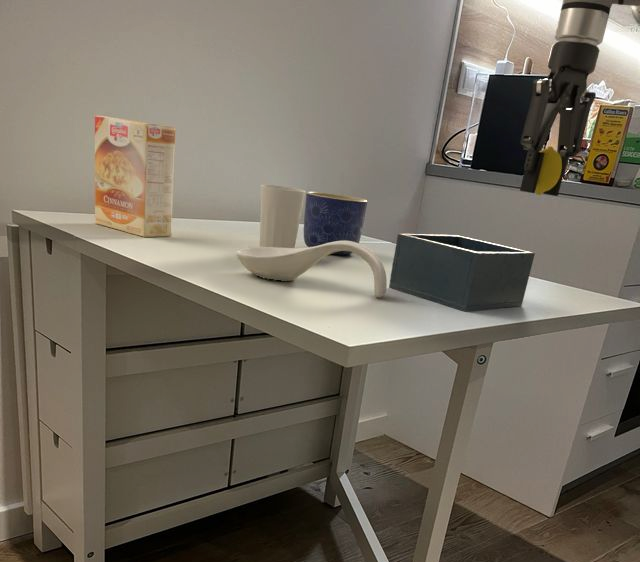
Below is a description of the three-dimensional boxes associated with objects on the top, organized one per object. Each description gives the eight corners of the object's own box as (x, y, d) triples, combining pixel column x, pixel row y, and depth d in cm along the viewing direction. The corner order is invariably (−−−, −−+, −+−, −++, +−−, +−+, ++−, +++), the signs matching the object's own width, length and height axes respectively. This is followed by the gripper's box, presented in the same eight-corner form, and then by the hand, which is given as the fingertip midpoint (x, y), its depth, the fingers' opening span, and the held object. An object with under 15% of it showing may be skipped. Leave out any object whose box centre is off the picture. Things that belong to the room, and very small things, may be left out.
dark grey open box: (521, 306, 109) (535, 253, 105) (465, 311, 99) (478, 253, 95) (446, 284, 119) (457, 235, 116) (388, 287, 109) (397, 233, 105)
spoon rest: (223, 275, 100) (226, 226, 97) (250, 265, 110) (254, 221, 107) (376, 304, 95) (384, 253, 92) (389, 291, 106) (397, 245, 103)
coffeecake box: (93, 223, 130) (93, 114, 123) (123, 223, 136) (124, 119, 128) (143, 237, 122) (145, 122, 115) (172, 236, 128) (177, 126, 120)
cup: (275, 261, 118) (282, 190, 113) (245, 252, 122) (251, 183, 118) (306, 260, 123) (314, 192, 119) (276, 251, 128) (283, 186, 123)
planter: (287, 246, 137) (293, 190, 132) (328, 245, 145) (335, 193, 141) (331, 258, 129) (339, 199, 125) (371, 256, 138) (380, 202, 134)
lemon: (520, 192, 116) (532, 143, 112) (524, 192, 120) (536, 145, 117) (553, 197, 114) (566, 147, 111) (555, 197, 119) (568, 149, 116)
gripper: (592, 55, 116) (555, 194, 125) (521, 32, 106) (486, 185, 115) (630, 55, 110) (589, 200, 119) (558, 30, 100) (519, 191, 109)
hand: (539, 193), depth 117 cm, fingers closed on lemon, 5 cm apart
